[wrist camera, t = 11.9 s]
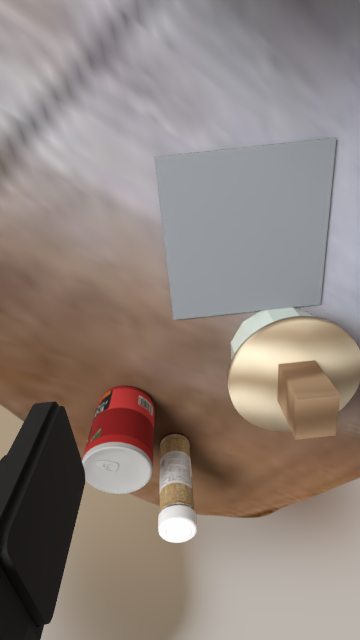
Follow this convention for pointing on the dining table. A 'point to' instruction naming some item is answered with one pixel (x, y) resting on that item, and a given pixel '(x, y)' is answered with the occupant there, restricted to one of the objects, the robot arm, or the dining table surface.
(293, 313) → the bowl
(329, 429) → the lid
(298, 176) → the mat
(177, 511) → the sprinkles bottle
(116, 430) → the canned food
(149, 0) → the dining table surface
